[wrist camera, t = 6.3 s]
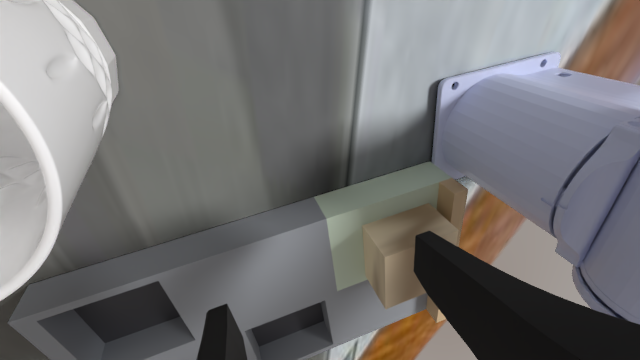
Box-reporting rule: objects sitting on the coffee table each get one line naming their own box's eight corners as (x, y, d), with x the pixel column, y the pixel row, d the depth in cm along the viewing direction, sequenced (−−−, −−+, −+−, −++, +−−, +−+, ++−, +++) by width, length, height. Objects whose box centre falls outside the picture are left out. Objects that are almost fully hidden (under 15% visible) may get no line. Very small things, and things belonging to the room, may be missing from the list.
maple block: (428, 202, 22) (458, 230, 19) (424, 253, 24) (450, 283, 22) (361, 225, 20) (384, 257, 18) (365, 276, 23) (385, 309, 21)
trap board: (429, 161, 23) (468, 189, 20) (419, 284, 31) (446, 318, 28) (28, 284, 18) (-9, 350, 14) (138, 395, 25) (130, 455, 22)
